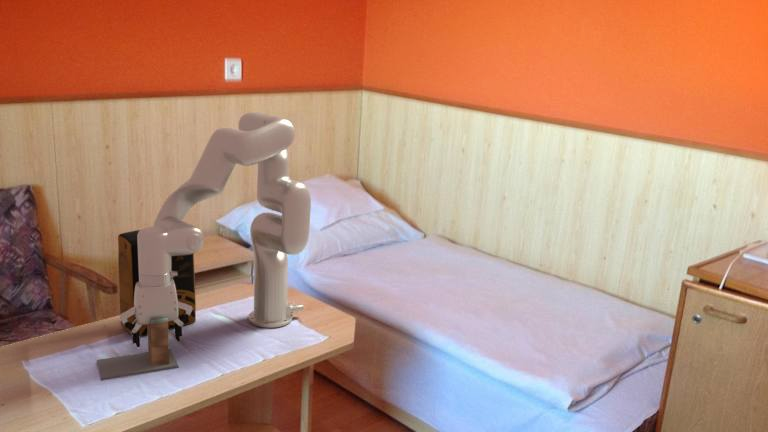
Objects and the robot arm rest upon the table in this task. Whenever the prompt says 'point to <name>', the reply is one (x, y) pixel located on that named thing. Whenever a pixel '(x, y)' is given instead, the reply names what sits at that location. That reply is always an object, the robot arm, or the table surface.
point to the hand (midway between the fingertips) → (157, 342)
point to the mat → (131, 365)
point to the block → (158, 341)
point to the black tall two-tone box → (131, 277)
